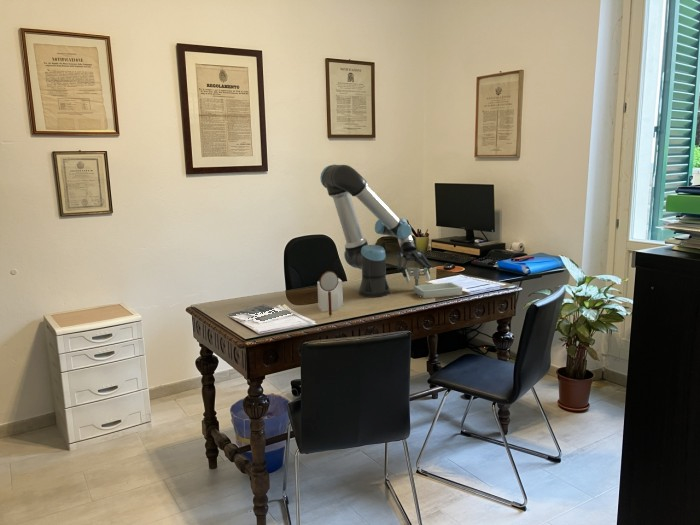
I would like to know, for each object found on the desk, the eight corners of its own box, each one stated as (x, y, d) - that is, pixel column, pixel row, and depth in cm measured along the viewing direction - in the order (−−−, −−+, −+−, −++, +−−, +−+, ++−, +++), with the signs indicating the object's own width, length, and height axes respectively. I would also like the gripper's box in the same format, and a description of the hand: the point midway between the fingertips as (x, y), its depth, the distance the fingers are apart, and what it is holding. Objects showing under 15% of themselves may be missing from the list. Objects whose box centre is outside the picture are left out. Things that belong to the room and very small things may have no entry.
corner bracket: (339, 303, 260) (338, 278, 257) (345, 309, 249) (344, 283, 247) (317, 305, 257) (315, 280, 255) (322, 311, 246) (321, 285, 244)
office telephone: (294, 310, 243) (256, 321, 229) (294, 316, 243) (257, 327, 230) (263, 301, 259) (225, 310, 246) (263, 306, 260) (226, 316, 246)
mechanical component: (427, 288, 278) (427, 268, 276) (406, 288, 278) (406, 268, 276) (426, 286, 281) (426, 267, 279) (406, 287, 281) (406, 267, 279)
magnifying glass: (338, 314, 240) (336, 269, 237) (340, 315, 239) (338, 270, 235) (320, 318, 237) (318, 272, 233) (322, 319, 235) (319, 272, 231)
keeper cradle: (423, 298, 262) (423, 291, 261) (413, 293, 273) (413, 286, 272) (462, 294, 267) (462, 287, 266) (451, 289, 278) (451, 282, 278)
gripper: (425, 247, 294) (437, 283, 282) (384, 250, 288) (395, 286, 276) (429, 239, 288) (442, 274, 276) (388, 242, 282) (399, 278, 270)
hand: (418, 280), depth 276 cm, fingers closed on mechanical component, 10 cm apart
